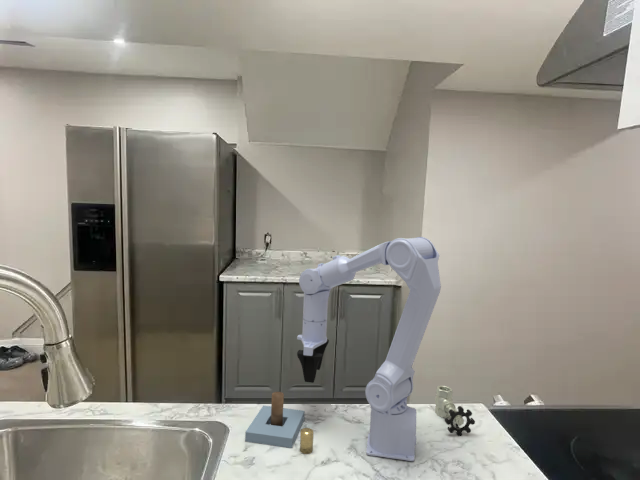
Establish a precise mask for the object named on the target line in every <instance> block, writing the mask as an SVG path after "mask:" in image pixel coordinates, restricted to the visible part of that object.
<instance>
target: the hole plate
mask: <svg viewBox="0 0 640 480" xmlns="http://www.w3.org/2000/svg"><path fill="white" fill-rule="evenodd" d="M305 415H306V413H305V410H301V409H294V408H285V407H283V427H282V426H275V425H271V405H270V406H269V405H265V404H263V405H262V406H261V408H260V410H259V411H258V413H257V414H256V415H255V417H254V419H253V420H252V421H251V423H250V424H249V425H248V427H247V429H246V430H245V434H244V435H245V436H244V437H245V438H244V439H245V442H249V443H254V444H262V445H268V446H269V445H270V446H277V447H283V448H289V449H292V448H293V446H294V444H295V442H296V440H297V437H298V435H299V432H300V431H301V429H302V425H303V423H304V421H305Z"/></svg>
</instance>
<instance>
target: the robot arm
mask: <svg viewBox="0 0 640 480" xmlns="http://www.w3.org/2000/svg"><path fill="white" fill-rule="evenodd" d="M439 258H440V253H439V251H438V250H437V249H436V247H435V245H434V243H433V242H432V241H431V239H429V238H427V237H423V236H417V237H411V238H409V237H407V238H404V237H397V238H394V239H393V240H391V241H390V240H389V241H385V242H382V243H380V244H378V245H376V246H373V247H372V248H369V249H367V250H365V251H362V252H361V253H358V254H356V255H355V256H353V257H351V258H349V257H348V256H345V255H340V254H339V255H334V256H333V257H332V260H330V261H327V262H326V263H324V262H322V263H318V264H317V267H316V268H306V269H305V270H303V271H301V273H300V276H299V279H298V284H299V287H300V289H301V291H302V292H303V305H302V306H303V310H302V311H303V313H302V332H301V334H298V335H297V336H296V340H299V341H301V343H302V346H303V350H302V349H299V350H298V351H297V353H296V356H297V358H298V361H299V362H300V365H301V367H302V368H301V369H302V373H303V380H304V382H305V383H315V381H316V377H317V371H320V370H321V366H322V362H323V359H324V353H325V351H326V349H327V346H328V344H329V343H330V340H329V339H328V337H327V334H328V333H327V330H328V329H327V328H328V327H327V326H328V309H329V308H328V307H329V297H330V292H331V290H332V289H333V288H335V287H338V286H340V285H343V284H346V283H348V282H352V281H353V280H354V279H355V276H356V273H359V272H362V271H363V270H366V269H369V268H372V267H374V266H378V265H380V264H382V265H384V266H390V268H392V270H394V272H395V273H396V274H397V275H398V276H399V277H400V278H401V279H402V280H403V281H404V283H405V284H406V286H407V288H408V289H409V293H408V295H407V299H406V301H405V304H404V306H403V309H402V312H401V315H400V319H399V321H398V324H397V327H396V329H395V333H394V335H393V339H392V341H391V344H390V347H389V349H388V352H387V355H386V358H385V360H384V361H383V363H382V364H381V365H380V367H379V368H378V369H377V370H376V371H375V375H374V377H373V378H372V379H371V380H370V381H368V382H367V385H365V391H364V392H365V398H366V400H367V401H366V402H367V403H368V404H369V406H370V420H369V421H370V423H369V424H370V425H369V432H368V434H367V443H366V450H365V453H366V455H367V456H372V457H373V456H374V457H379V458H380V457H381V458H387V459H393V460H400V461H407V462H414V461H415V454H416V453H415V452H416V445H417V409H416V408H415V407H412V406H408V397H409V396H410V395H411V394H412V393H413V391H414V375H415V369H414V368H413V364H414V362H415V359H416V356H417V353H418V351H419V348H420V346H421V344H422V340H423V337H424V335H425V332H426V330H427V328H428V324H429V322H430V320H431V317H432V314H433V311H434V309H435V306H436V303H437V300H438V298H439V296H440V294H441V293H440V292H441V288H442V283H441V277H440V276H441V275H440V269H439V260H440V259H439Z"/></svg>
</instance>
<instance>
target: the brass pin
mask: <svg viewBox="0 0 640 480" xmlns="http://www.w3.org/2000/svg"><path fill="white" fill-rule="evenodd" d="M299 438H300V439H299V441H300V442H299V452H300V453H301V454H305V455H310V454H311V453H313V451H314V448H313V447H314V429H312V428H311V427H303V428H300V437H299Z"/></svg>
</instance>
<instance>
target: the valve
mask: <svg viewBox="0 0 640 480" xmlns="http://www.w3.org/2000/svg"><path fill="white" fill-rule="evenodd" d="M435 393H436V395H435V397H434V404H435V407H434V413H435V414H436V416H437V417H441V418H444V422H445V424H446V425H448V427H447V430H448V433H450V434H453V433H454V432H455V434H456V435H457V437H462V436H463V432H464V431H465V432H466V433H467V434H470V433H471V432H472V429H471V428H470V427H469V426H470V425H475V424H476V421H475V420H474V418H473V417H471V416H473V412H472V411H471V410H470V409H466V411H464V410H465V408H464V407H463V406H462V405H458V406H457V408H456V405H455V403H454V401H453V393H454V392H453V389H452V388H451V387H450V386H446V385H437V386H436V391H435ZM456 409H458V411H457V410H456ZM463 417H465V418H466V423H465V424H464V422H465V420H464V418H463ZM462 425H464V426H462ZM459 426H462V427H459Z"/></svg>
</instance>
